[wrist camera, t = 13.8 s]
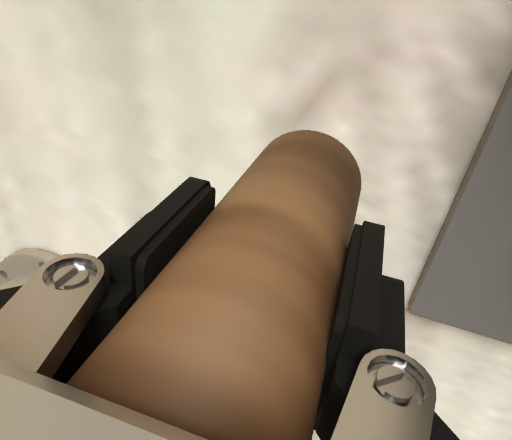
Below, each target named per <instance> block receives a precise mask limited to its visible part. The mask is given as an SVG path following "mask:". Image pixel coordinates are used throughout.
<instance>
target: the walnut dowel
mask: <svg viewBox="0 0 512 440" xmlns="http://www.w3.org/2000/svg"><path fill="white" fill-rule="evenodd" d="M360 191H361V175H360V170H359V167H358V165H357V162H356V160H355V159H354V157H353V155H352V154H351V153H350V151H349V150H348V149H347V148H346V147H345V146H344V145H343V144H342V143H340V142H339V141H338V140H336V139H335V138H333V137H331V136H329V135H327V134H324V133H321V132H317V131H311V130H299V131H293V132H289V133H286V134H284V135H281V136H279V137H278V138H276V139H275V140H273V141H272V142H271V143H270V144H269V145H268V146H267V147H266V148H265V149H264V150H263V151H262V153H261V154H260V155H259V156H258V157H257V159H256V160H255V161H254V162H253V163H252V165H251V166H250V167H249V168H248V169H247V170H246V172H245V173H244V174H243V175H242V176H241V178H240V179H239V180H238V181H237V182H236V183H235V185H234V186H233V187H232V188H231V189H230V191H229V192H228V193H227V194H226V195H225V196H224V198H223V199H222V200H221V201H220V202H219V204H218V205H217V206H216V207H215V208H214V210H213V211H212V212H211V213H210V214H209V215H208V217H207V218H206V219H205V220H204V221H203V223H202V224H201V225H200V226H199V227H198V228H197V230H196V231H195V232H194V233H193V234H192V236H191V237H190V238H189V239H188V240H187V241H186V243H185V244H184V245H183V246H182V247H181V249H180V250H179V251H178V252H177V253H176V254H175V256H174V257H173V258H172V259H171V260H170V262H169V263H168V264H167V265H166V266H165V268H164V269H163V270H162V271H161V272H160V273H159V275H158V276H157V277H156V278H155V279H154V281H153V282H152V283H151V284H150V285H149V286H148V288H147V289H146V290H145V291H144V292H143V294H142V295H141V296H140V297H139V298H138V299H137V301H136V302H135V303H134V304H133V305H132V307H131V308H130V309H129V310H128V311H127V313H126V314H125V315H124V316H123V317H122V318H121V320H120V321H119V322H118V323H117V324H116V326H115V327H114V328H113V329H112V330H111V331H110V333H109V334H108V335H107V336H106V337H105V339H104V340H103V341H102V342H101V343H100V344H99V346H98V347H97V348H96V349H95V350H94V352H93V353H92V354H91V355H90V356H89V358H88V359H87V360H86V361H85V362H84V363H83V365H82V366H81V367H80V368H79V369H78V371H77V372H76V373H75V374H74V375H73V376H72V378H71V379H70V380H69V381H68V382H67V385H69V386H72V387H75V388H77V389H80V390H82V391H85V392H87V393H90V394H93V395H95V396H98V397H100V398H103V399H105V400H108V401H111V402H113V403H116V404H118V405H121V406H123V407H126V408H129V409H131V410H134V411H136V412H139V413H141V414H144V415H146V416H149V417H152V418H154V419H157V420H159V421H162V422H164V423H167V424H169V425H172V426H175V427H177V428H180V429H182V430H185V431H187V432H190V433H192V434H195V435H197V436H200V437H203V438H205V439H208V440H312V435H313V430H314V425H315V420H316V414H317V409H318V404H319V399H320V394H321V389H322V384H323V379H324V374H325V369H326V351H327V347H328V342H329V337H330V332H331V327H332V322H333V317H334V312H335V307H336V302H337V298H338V293H339V288H340V283H341V278H342V273H343V268H344V263H345V258H346V253H347V249H348V245H349V242H350V238H351V235H352V231H353V226H354V221H355V216H356V211H357V206H358V201H359V196H360Z"/></svg>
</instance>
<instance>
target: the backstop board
mask: <svg viewBox="0 0 512 440" xmlns="http://www.w3.org/2000/svg"><path fill="white" fill-rule="evenodd" d="M409 313H411V314H415V315H418V316H421V317H424V318H428V319H431V320H434V321H438V322H441V323H444V324H447V325H451V326H454V327H457V328H460V329H464V330H467V331H470V332H473V333H477V334H480V335H483V336H486V337H490V338H493V339H496V340H499V341H503V342H506V343H509V344H512V71H511V74H510V76H509V78H508V80H507V83H506V85H505V87H504V89H503V92H502V94H501V96H500V98H499V101H498V103H497V105H496V107H495V110H494V112H493V114H492V116H491V119H490V121H489V123H488V125H487V128H486V130H485V132H484V134H483V137H482V139H481V141H480V143H479V146H478V148H477V150H476V152H475V155H474V157H473V159H472V161H471V164H470V166H469V168H468V170H467V173H466V175H465V177H464V179H463V182H462V184H461V186H460V188H459V191H458V193H457V195H456V197H455V200H454V202H453V204H452V206H451V209H450V211H449V213H448V215H447V218H446V220H445V222H444V224H443V227H442V229H441V231H440V233H439V236H438V238H437V240H436V242H435V245H434V247H433V249H432V251H431V254H430V256H429V258H428V260H427V263H426V265H425V267H424V269H423V272H422V274H421V276H420V278H419V281H418V283H417V285H416V287H415V290H414V292H413V294H412V296H411V299H410V301H409Z"/></svg>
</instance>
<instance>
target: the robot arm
mask: <svg viewBox="0 0 512 440" xmlns="http://www.w3.org/2000/svg"><path fill="white" fill-rule="evenodd" d="M214 207H215V188H213V187H211V185H210V182H209V181H206V180H202V179H198V178H194V177H189V178H188V179H187V180H186V181H184V182H183V183H182V184H181V185H180V186H179V187H178V188H177V189H175V190H174V191H173V192H172V193H171V194H170V195H169V196H168V197H167V198H165V199H164V200H163V201H162V202H161V203H160V204H159V205H158V206H157V207H155V208H154V209H153V210H152V211H151V212H149V213H147V214H146V215H145V216H144V217H143V218H142V219H140V220H139V221H138V222H137V223H136V224H135V225H134V226H133V227H131V228H130V229H129V230H128V231H127V232H126V233H125V234H124V235H122V236H121V237H120V238H119V239H118V240H117V241H116V242H115V243H113V244H112V245H111V246H110V247H109V248H108V249H107V250H106V251H104V252H103V253H102V254H101V255H100V256H99V257H98V258H96V257H94V256H91V255H88V254H79V253H75V254H66V255H62V256H58V255H55V254H53V253H50V252H47V251H43V250H38V249H22V250H18V251H15V252H14V253H12V254H11V255H9V256H8V257H6V258H5V259H4V260H3V261H2V262H0V440H208V439H205V438H203V437H200V436H197V435H195V434H192V433H190V432H187V431H185V430H182V429H180V428H177V427H175V426H172V425H169V424H167V423H164V422H162V421H159V420H157V419H154V418H152V417H149V416H146V415H144V414H141V413H139V412H136V411H134V410H131V409H129V408H126V407H123V406H121V405H118V404H116V403H113V402H111V401H108V400H105V399H103V398H100V397H98V396H95V395H93V394H90V393H87V392H85V391H82V390H80V389H77V388H75V387H72V386H69V385H67V382H68V381H69V380H70V379H71V378H72V376H73V375H74V374H75V373H76V372H77V371H78V369H79V368H80V367H81V366H82V365H83V363H84V362H85V361H86V360H87V359H88V358H89V356H90V355H91V354H92V353H93V352H94V350H95V349H96V348H97V347H98V346H99V344H100V343H101V342H102V341H103V340H104V339H105V337H106V336H107V335H108V334H109V333H110V331H111V330H112V329H113V328H114V327H115V326H116V324H117V323H118V322H119V321H120V320H121V318H122V317H123V316H124V315H125V314H126V313H127V311H128V310H129V309H130V308H131V307H132V305H133V304H134V303H135V302H136V301H137V299H138V298H139V297H140V296H141V295H142V294H143V292H144V291H145V290H146V289H147V288H148V286H149V285H150V284H151V283H152V282H153V281H154V279H155V278H156V277H157V276H158V275H159V273H160V272H161V271H162V270H163V269H164V268H165V266H166V265H167V264H168V263H169V262H170V260H171V259H172V258H173V257H174V256H175V254H176V253H177V252H178V251H179V250H180V249H181V247H182V246H183V245H184V244H185V243H186V241H187V240H188V239H189V238H190V237H191V236H192V234H193V233H194V232H195V231H196V230H197V228H198V227H199V226H200V225H201V224H202V223H203V221H204V220H205V219H206V218H207V217H208V215H209V214H210V213H211V212H212V211H213V210H214ZM384 234H385V226H383V225H379V224H375V223H372V222H368V221H364V222H363V225H358V224H355V225H354V228H353V231H352V235H351V238H350V242H349V245H348V249H347V253H346V258H345V263H344V268H343V273H342V278H341V283H340V288H339V293H338V298H337V302H336V307H335V312H334V317H333V322H332V327H331V332H330V337H329V342H328V347H327V351H326V369H325V374H324V379H323V384H322V389H321V394H320V399H319V404H318V409H317V414H316V420H315V425H314V430H316V433H317V435H318V436H319V438H320V439H321V440H460V439H459V438H458V437H457V436H456V435H455V434H454V433H453V432H452V430H451V429H450V428H449V427H448V426H447V425H446V424H445V423H444V422H443V421H442V419H441V418H440V417H439V416H438V415H437V414H436V413H435V412H434V409H435V402H436V388H435V385H434V383H433V380H432V378H431V376H430V375H429V374H428V372H427V371H426V370H425V368H424V367H423V366H422V365H420V364H419V363H418V362H417V361H416V360H415V359H413V358H411V357H409V356H408V355H406V354H405V306H404V282H403V281H402V280H399V279H395V278H391V277H388V276H384V275H382V264H383V249H384Z"/></svg>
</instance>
